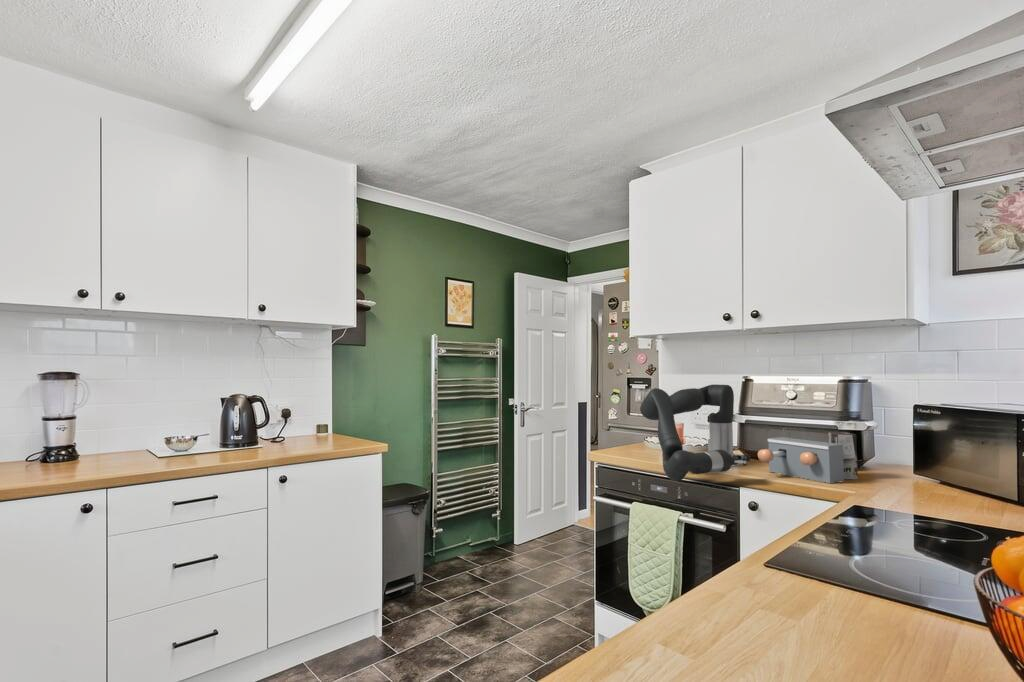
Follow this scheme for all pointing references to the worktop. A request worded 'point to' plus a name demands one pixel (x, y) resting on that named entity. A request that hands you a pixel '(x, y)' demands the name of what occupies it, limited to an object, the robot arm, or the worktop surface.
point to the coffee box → (847, 452)
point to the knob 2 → (808, 458)
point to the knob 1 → (769, 455)
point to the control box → (823, 470)
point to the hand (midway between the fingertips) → (748, 457)
